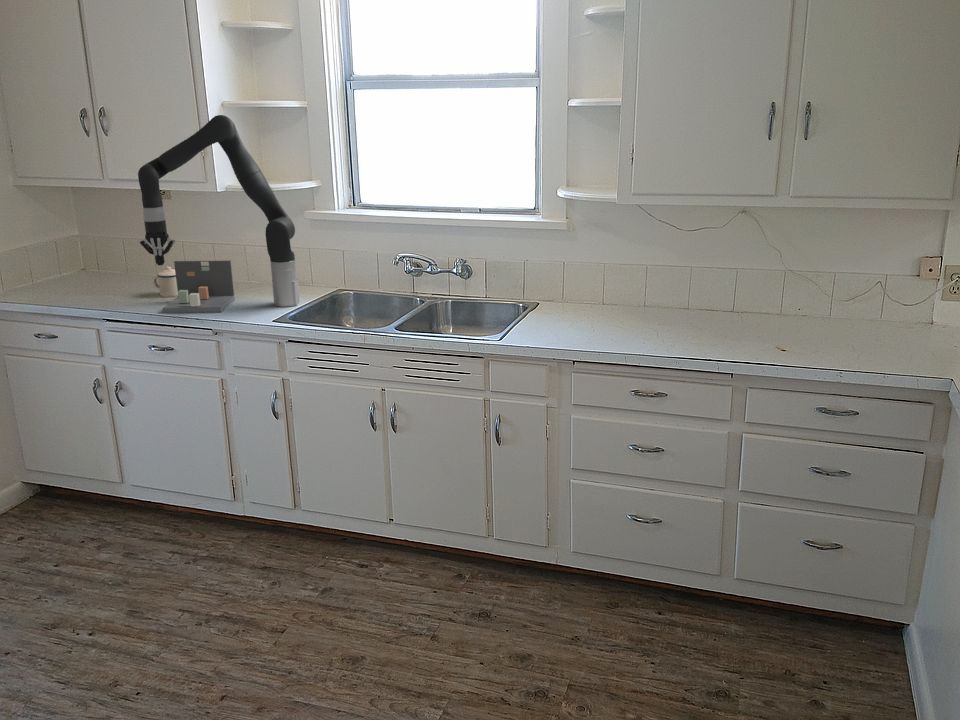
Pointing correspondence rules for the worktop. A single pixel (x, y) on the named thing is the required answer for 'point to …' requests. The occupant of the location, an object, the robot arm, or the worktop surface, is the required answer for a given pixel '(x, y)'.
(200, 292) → the terracotta slider
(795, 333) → the worktop surface
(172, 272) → the teacup with lid
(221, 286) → the switch unit
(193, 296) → the cream slider
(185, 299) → the sage slider
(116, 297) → the worktop surface
